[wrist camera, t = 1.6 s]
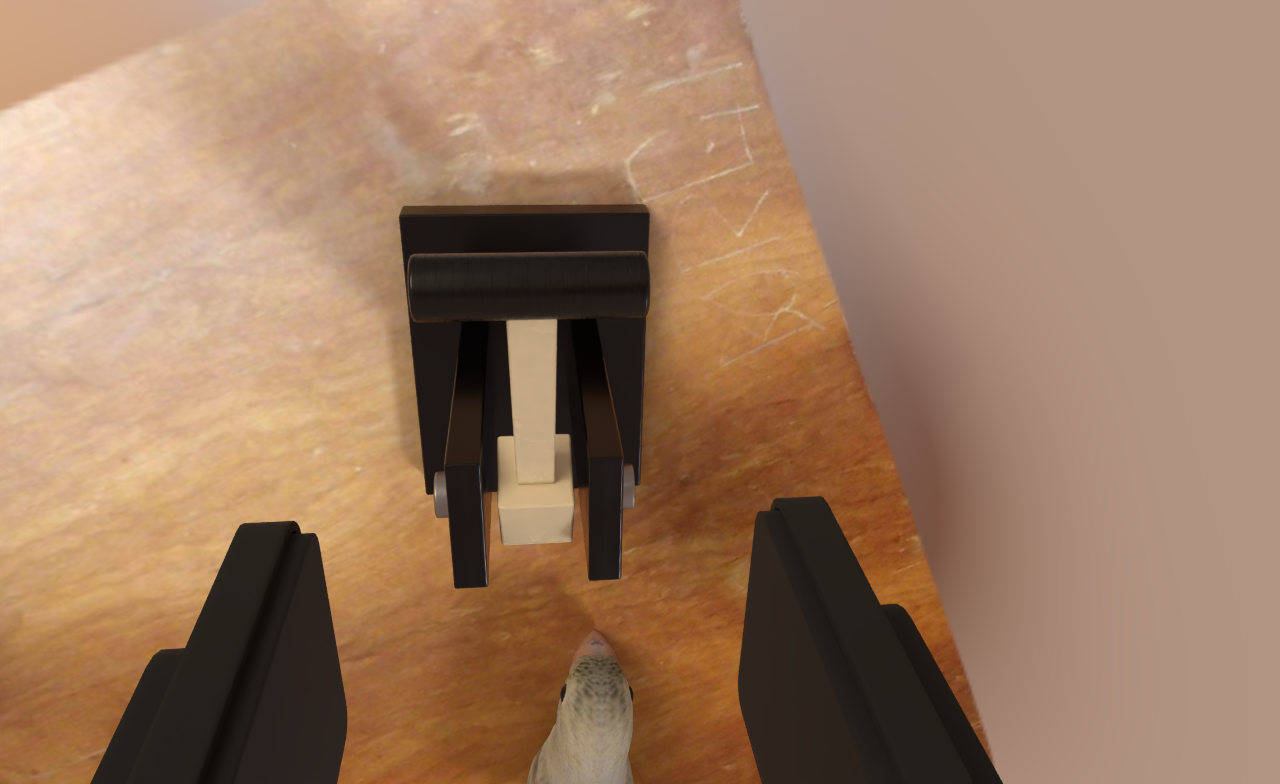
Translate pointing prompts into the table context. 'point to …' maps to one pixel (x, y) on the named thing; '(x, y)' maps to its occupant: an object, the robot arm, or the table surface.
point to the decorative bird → (589, 722)
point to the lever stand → (480, 380)
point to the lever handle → (531, 357)
